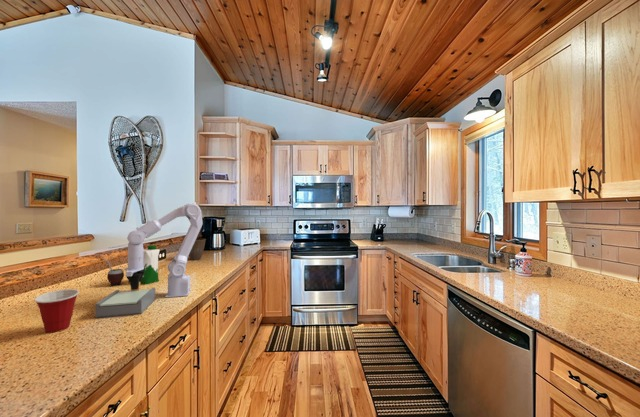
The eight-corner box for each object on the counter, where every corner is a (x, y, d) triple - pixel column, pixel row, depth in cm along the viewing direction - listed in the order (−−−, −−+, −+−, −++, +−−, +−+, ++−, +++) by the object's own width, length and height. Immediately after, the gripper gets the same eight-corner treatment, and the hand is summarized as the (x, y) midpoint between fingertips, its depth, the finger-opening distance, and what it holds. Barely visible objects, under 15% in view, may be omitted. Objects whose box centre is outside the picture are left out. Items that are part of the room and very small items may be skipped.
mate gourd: (127, 283, 143) (127, 255, 143) (114, 287, 135) (114, 258, 135) (114, 282, 144) (114, 255, 144) (101, 287, 136) (101, 258, 136)
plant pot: (191, 262, 200) (191, 241, 200) (180, 259, 208) (181, 239, 208) (209, 259, 212) (209, 239, 212) (198, 257, 220) (198, 238, 220)
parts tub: (155, 299, 118) (155, 287, 118) (141, 314, 102) (141, 300, 102) (116, 302, 114) (116, 290, 114) (95, 318, 98) (95, 303, 98)
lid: (151, 290, 118) (151, 281, 118) (137, 303, 102) (137, 292, 102) (120, 292, 115) (120, 283, 115) (100, 306, 98) (100, 295, 98)
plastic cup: (26, 339, 82) (26, 301, 82) (43, 325, 91) (43, 291, 91) (72, 332, 87) (72, 296, 87) (83, 320, 96) (83, 287, 96)
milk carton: (161, 280, 148) (161, 245, 148) (145, 285, 140) (145, 247, 140) (150, 279, 151) (150, 244, 151) (134, 283, 143) (134, 246, 143)
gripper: (131, 255, 121) (131, 284, 121) (117, 261, 107) (117, 294, 107) (149, 254, 123) (149, 283, 123) (137, 260, 109) (137, 293, 109)
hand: (135, 288), depth 116 cm, fingers closed on lid
